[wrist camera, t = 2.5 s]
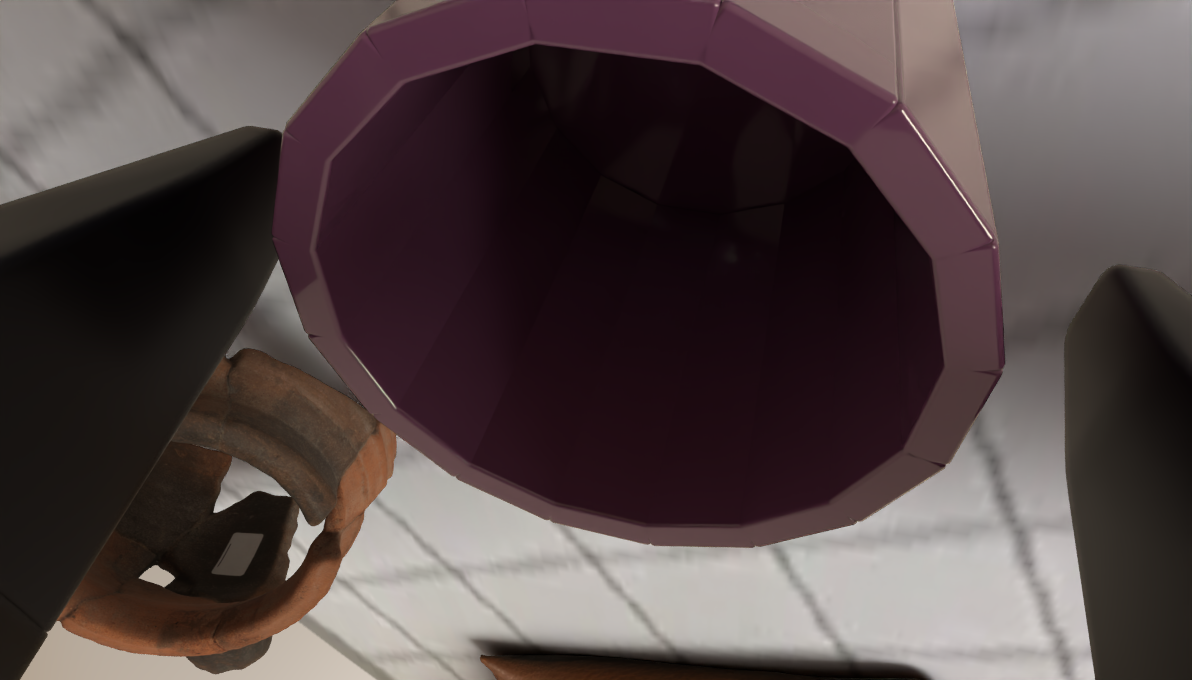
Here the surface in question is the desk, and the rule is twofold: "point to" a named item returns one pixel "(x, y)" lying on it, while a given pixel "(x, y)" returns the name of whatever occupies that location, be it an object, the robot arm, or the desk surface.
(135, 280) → the robot arm
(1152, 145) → the desk surface
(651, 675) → the sunglasses case
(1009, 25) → the desk surface
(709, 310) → the tumbler
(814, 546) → the desk surface
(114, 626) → the broken clay pot rim
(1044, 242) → the desk surface
